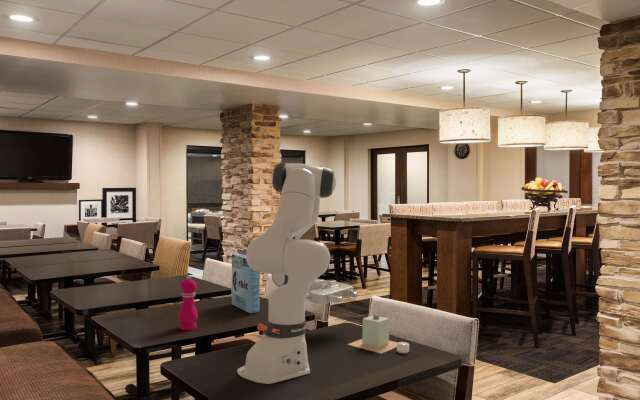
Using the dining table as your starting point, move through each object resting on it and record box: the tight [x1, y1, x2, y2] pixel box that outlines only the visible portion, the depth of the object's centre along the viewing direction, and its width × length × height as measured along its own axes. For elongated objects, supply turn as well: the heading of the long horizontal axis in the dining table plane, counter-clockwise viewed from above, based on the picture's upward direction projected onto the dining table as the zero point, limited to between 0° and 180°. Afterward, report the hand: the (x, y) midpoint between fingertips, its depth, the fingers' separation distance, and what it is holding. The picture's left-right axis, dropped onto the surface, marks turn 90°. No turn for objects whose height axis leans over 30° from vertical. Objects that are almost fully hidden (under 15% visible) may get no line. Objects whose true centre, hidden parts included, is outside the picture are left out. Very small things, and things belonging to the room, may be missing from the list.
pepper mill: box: [177, 274, 199, 331], centre depth 204 cm, size 7×7×20 cm
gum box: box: [231, 252, 261, 314], centre depth 237 cm, size 20×5×23 cm, turn 32°
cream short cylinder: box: [396, 341, 410, 354], centre depth 182 cm, size 4×4×3 cm
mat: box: [347, 338, 398, 354], centre depth 189 cm, size 14×14×1 cm
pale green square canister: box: [361, 314, 390, 348], centre depth 189 cm, size 7×7×10 cm
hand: (348, 297), depth 196 cm, fingers open, 8 cm apart
